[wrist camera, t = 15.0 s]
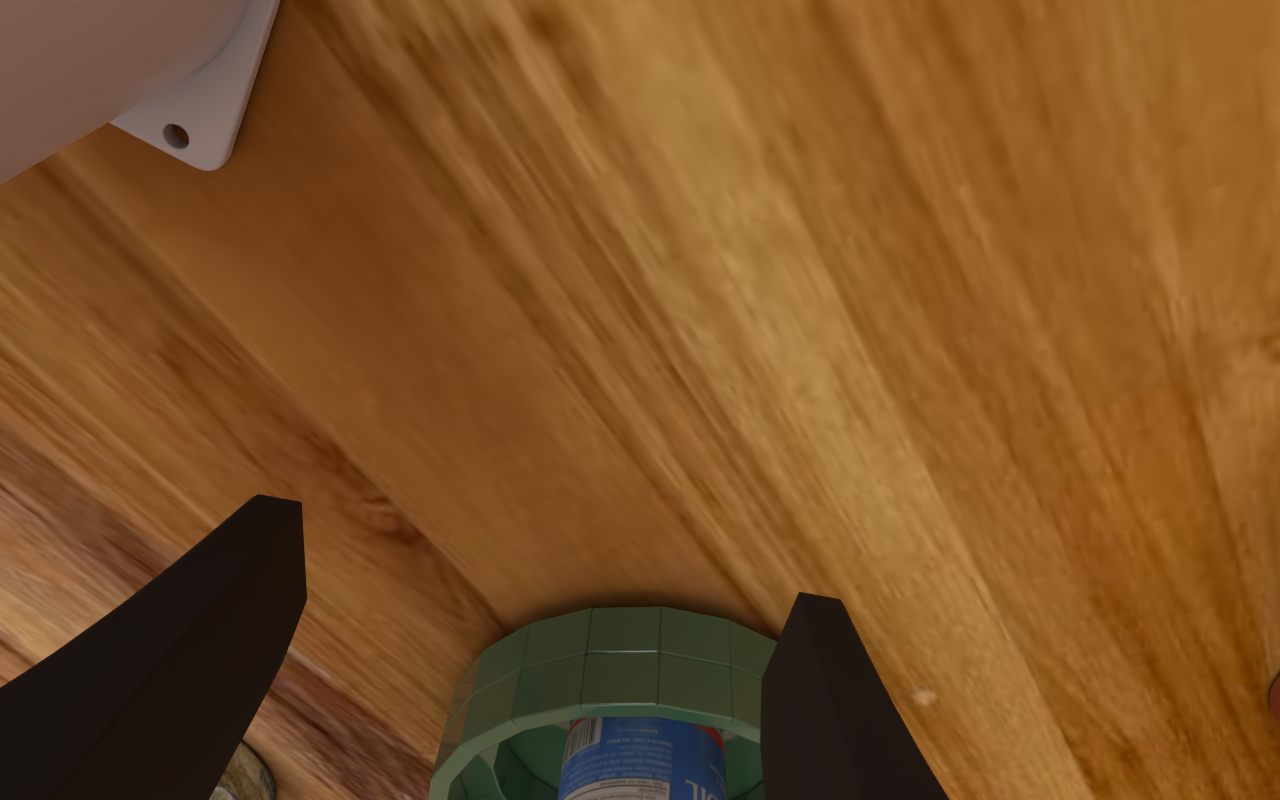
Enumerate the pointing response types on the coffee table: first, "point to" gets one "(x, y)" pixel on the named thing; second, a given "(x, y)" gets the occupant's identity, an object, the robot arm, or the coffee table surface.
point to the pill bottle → (642, 760)
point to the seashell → (245, 778)
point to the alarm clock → (1275, 699)
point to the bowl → (599, 696)
